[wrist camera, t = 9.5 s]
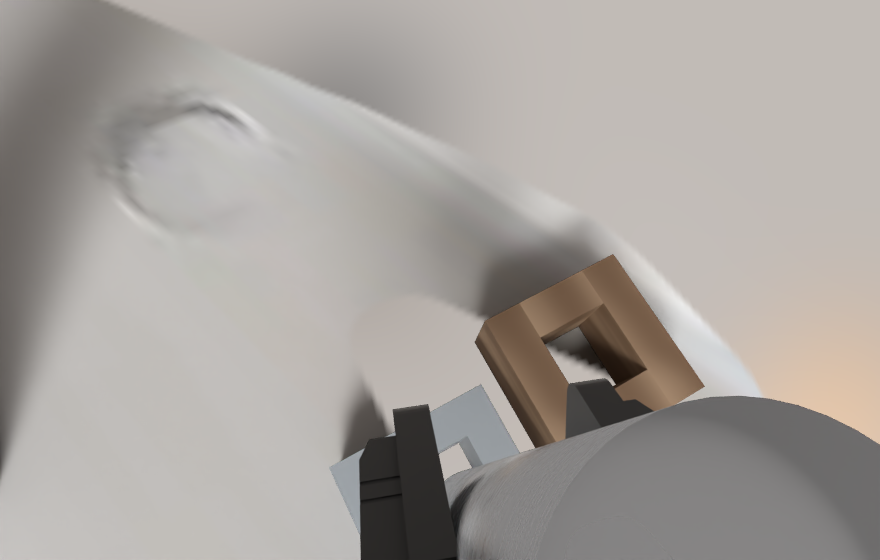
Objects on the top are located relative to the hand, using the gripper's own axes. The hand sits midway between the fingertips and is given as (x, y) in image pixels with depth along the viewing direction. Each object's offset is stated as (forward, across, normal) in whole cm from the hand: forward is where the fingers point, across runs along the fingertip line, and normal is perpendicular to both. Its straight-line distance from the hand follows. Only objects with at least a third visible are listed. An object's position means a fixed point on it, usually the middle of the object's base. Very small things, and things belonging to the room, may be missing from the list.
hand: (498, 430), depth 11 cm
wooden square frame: (+20, -9, +13) cm, 26 cm away
